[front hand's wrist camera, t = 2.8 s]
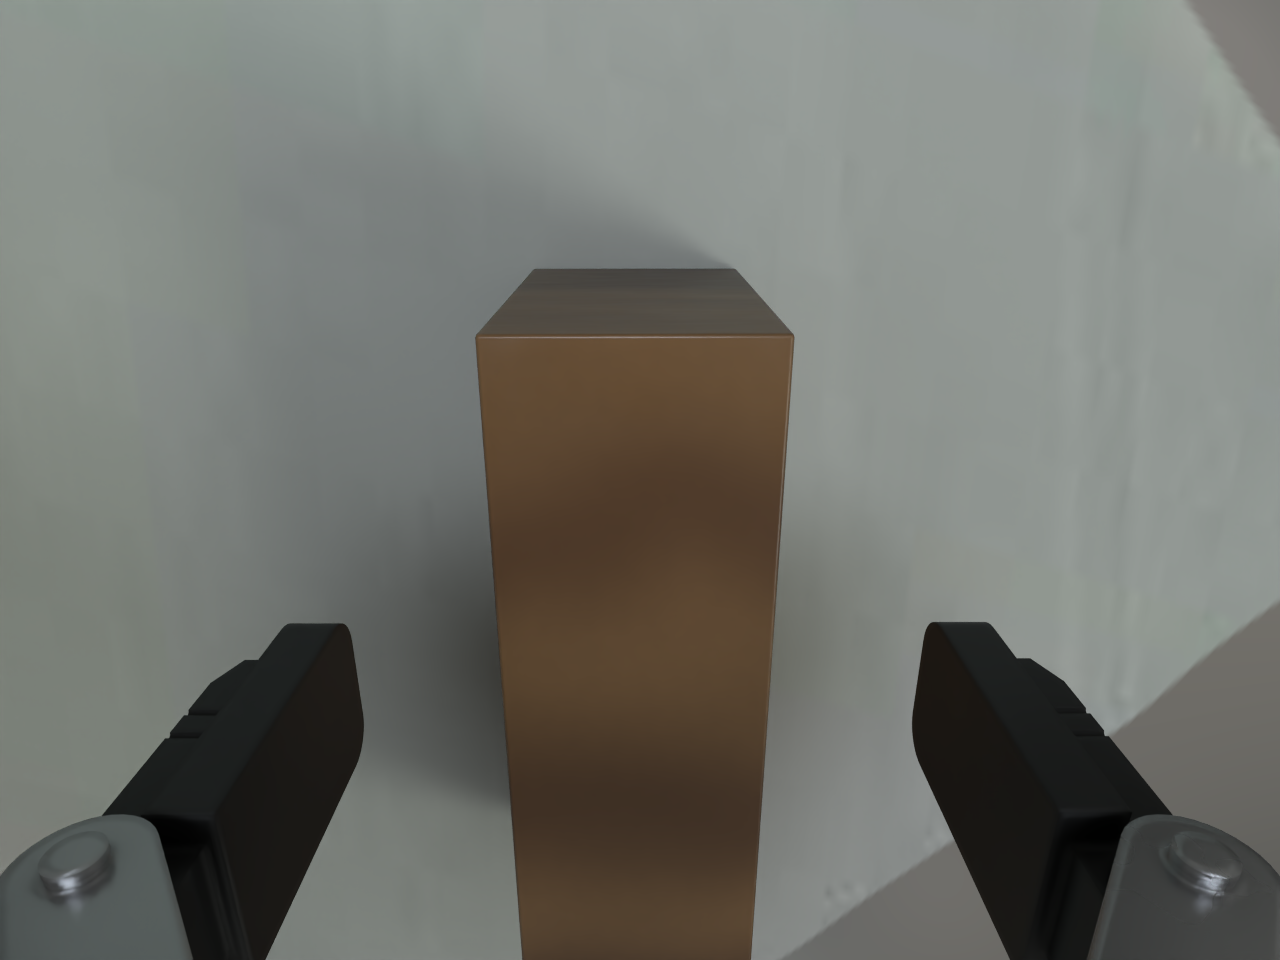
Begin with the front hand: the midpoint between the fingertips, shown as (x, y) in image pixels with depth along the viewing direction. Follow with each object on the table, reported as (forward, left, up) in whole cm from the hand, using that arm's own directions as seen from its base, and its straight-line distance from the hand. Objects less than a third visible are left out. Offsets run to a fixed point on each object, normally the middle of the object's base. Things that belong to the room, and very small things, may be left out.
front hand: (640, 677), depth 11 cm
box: (+7, +2, -15) cm, 17 cm away
